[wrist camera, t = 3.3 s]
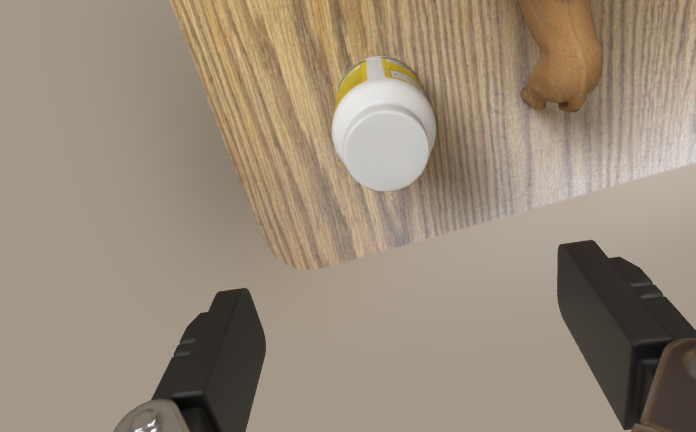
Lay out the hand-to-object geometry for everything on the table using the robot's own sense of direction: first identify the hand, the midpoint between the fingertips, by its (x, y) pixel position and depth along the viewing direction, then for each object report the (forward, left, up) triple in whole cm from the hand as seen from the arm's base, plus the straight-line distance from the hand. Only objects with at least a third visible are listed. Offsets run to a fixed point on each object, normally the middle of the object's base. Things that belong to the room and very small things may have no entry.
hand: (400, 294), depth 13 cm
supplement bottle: (0, 0, -21) cm, 21 cm away
